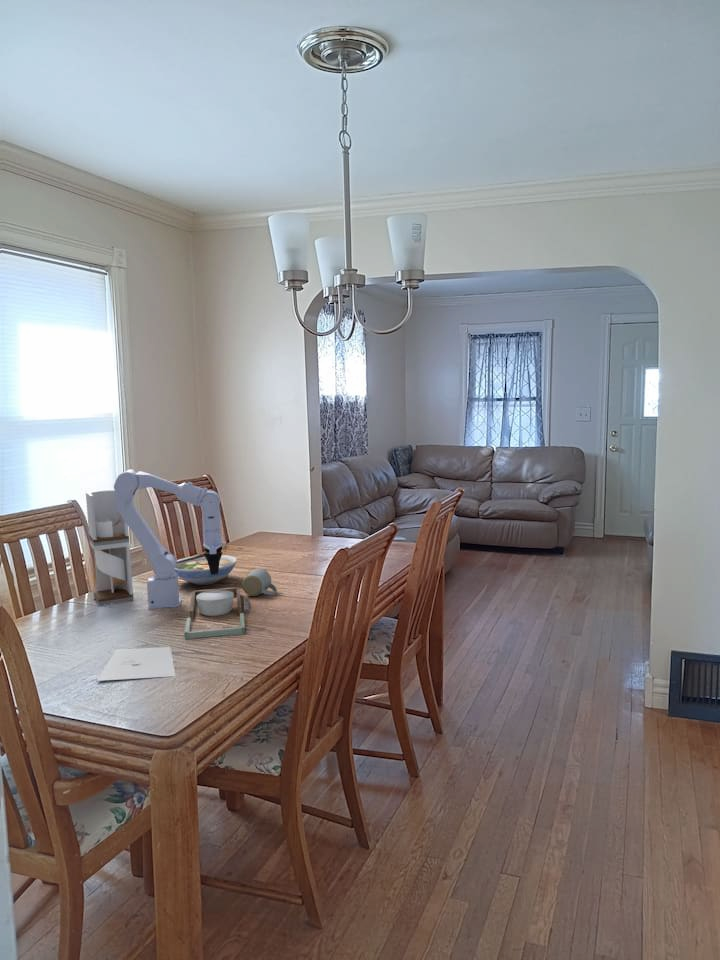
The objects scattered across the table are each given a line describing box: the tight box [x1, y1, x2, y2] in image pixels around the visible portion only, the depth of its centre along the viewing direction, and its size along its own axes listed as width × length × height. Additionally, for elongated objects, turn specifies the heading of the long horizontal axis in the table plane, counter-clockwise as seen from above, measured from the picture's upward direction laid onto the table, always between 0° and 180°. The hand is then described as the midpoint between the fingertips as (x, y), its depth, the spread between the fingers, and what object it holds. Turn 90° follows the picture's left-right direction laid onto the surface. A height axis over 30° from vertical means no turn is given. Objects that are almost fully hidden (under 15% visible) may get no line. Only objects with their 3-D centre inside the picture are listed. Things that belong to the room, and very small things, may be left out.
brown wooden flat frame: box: [188, 586, 243, 620], centre depth 223 cm, size 15×23×2 cm, turn 11°
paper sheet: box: [96, 646, 177, 682], centre depth 177 cm, size 24×29×1 cm
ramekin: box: [196, 590, 235, 617], centre depth 217 cm, size 11×11×5 cm
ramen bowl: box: [174, 553, 238, 586], centre depth 252 cm, size 25×23×8 cm
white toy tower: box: [85, 489, 134, 606], centre depth 233 cm, size 11×11×35 cm
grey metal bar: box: [243, 597, 250, 614], centre depth 221 cm, size 1×12×1 cm, turn 9°
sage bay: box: [184, 612, 246, 640], centre depth 202 cm, size 16×14×2 cm
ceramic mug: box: [241, 567, 278, 597], centre depth 235 cm, size 11×8×8 cm
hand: (214, 571), depth 228 cm, fingers open, 6 cm apart
